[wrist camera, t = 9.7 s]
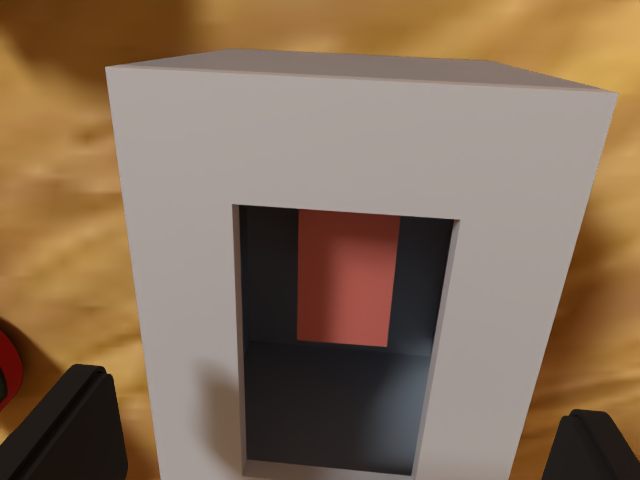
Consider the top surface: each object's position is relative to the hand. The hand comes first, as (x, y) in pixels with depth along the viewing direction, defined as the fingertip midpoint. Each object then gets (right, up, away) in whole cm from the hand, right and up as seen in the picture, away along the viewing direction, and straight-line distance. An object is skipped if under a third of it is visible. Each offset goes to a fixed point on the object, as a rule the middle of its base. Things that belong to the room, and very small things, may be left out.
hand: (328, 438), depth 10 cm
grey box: (+1, +5, +11) cm, 12 cm away
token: (+1, +2, +9) cm, 9 cm away
